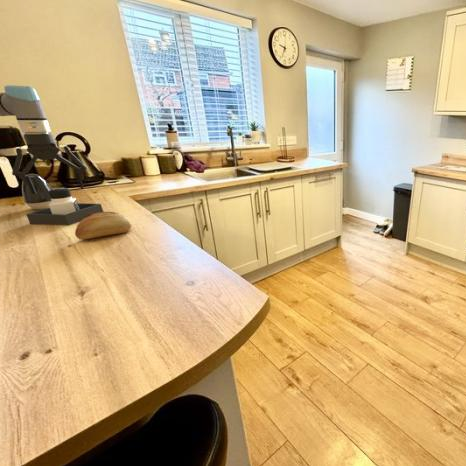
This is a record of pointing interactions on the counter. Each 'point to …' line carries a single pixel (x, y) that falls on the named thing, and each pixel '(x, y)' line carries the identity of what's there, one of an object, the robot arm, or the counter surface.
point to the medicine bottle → (62, 201)
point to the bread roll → (101, 225)
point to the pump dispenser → (37, 193)
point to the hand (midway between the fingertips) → (59, 190)
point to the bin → (59, 219)
